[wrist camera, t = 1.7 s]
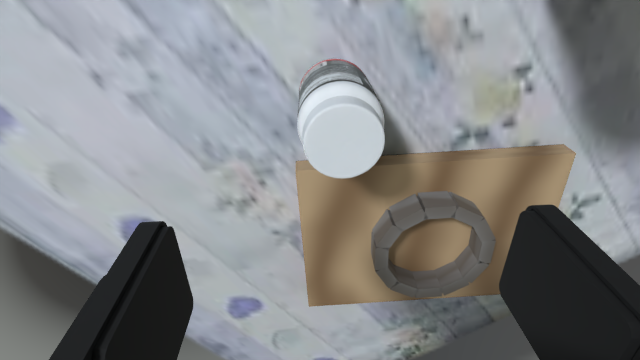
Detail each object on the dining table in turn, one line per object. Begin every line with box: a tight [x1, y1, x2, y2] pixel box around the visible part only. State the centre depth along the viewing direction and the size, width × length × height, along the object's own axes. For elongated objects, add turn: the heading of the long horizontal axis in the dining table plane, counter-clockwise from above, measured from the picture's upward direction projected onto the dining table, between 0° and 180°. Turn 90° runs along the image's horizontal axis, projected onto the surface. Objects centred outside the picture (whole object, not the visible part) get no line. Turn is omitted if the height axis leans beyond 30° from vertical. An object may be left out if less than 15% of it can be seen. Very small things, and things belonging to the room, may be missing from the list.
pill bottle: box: [297, 59, 385, 179], centre depth 21 cm, size 5×5×8 cm
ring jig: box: [296, 144, 576, 306], centre depth 30 cm, size 20×14×4 cm
